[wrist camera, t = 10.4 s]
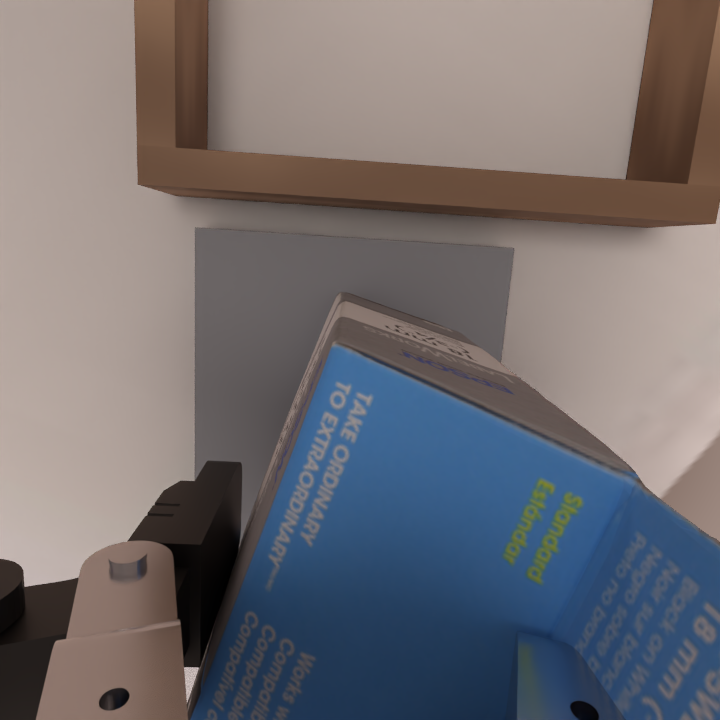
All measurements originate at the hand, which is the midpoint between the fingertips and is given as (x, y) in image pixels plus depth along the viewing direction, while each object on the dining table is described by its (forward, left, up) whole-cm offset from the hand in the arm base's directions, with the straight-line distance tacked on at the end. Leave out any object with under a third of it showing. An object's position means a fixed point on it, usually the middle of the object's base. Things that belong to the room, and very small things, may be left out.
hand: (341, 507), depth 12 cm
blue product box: (0, 0, -4) cm, 4 cm away
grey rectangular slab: (0, 0, -8) cm, 8 cm away
